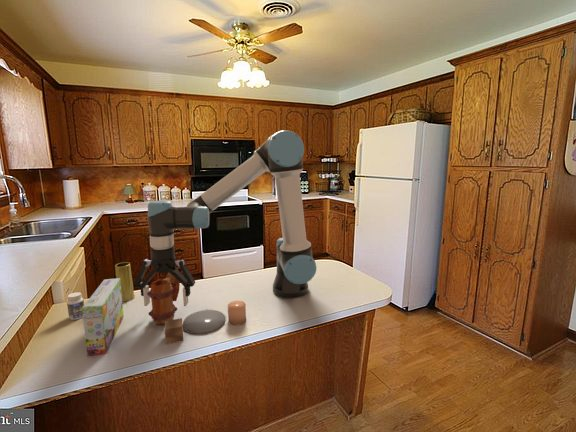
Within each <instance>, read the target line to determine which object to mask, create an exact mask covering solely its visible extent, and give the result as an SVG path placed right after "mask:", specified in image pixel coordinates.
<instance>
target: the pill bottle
mask: <svg viewBox="0 0 576 432" xmlns="http://www.w3.org/2000/svg"><path fill="white" fill-rule="evenodd" d="M66 305H67V313H68V318H69V320H71V321H75V320H80V319H83V313H82V307H83V306H84V305H85V303H84V297H83V296H82V293H81V292H79V291H78V292H72V293H69V294H68V295H67V302H66Z"/></svg>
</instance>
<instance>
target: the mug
mask: <svg viewBox="0 0 576 432" xmlns="http://www.w3.org/2000/svg"><path fill="white" fill-rule="evenodd" d="M180 284H181V283H180V282H179V281H178V280H177V279H176V278H175V277H174V276H173V275H171V274H170V273H167V275H166V277H165V278H163V279H161V278H159V279H155V281H154V280H153V281H152V282H151V283H150V289H149V292H148V293H147V295H148V296H150V299H151V300H150V302H151V310H150V311H149V312H148V316H150V317H151V319H152V320H153V322H154V323H155V324H165V321H169V320H174V317H175V313H176V311H178V307H176V305H175V304H174V302H177V300H178V297H179V293H180V286H181V285H180Z"/></svg>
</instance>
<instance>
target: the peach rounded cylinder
mask: <svg viewBox="0 0 576 432" xmlns="http://www.w3.org/2000/svg"><path fill="white" fill-rule="evenodd" d="M246 308H247V307H246V302H245V301H243V300H232V301H231V302H229V303H228V304H227V318H228V324H229V325H232V326H241V325H243V324H245V323H246V321H247V312H246V311H247V309H246Z"/></svg>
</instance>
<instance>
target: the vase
mask: <svg viewBox="0 0 576 432" xmlns="http://www.w3.org/2000/svg"><path fill="white" fill-rule="evenodd" d="M131 267H132V266H131V262H127V261H124V262H123V261H122V262H119V263H116V264H115V265H114V269H115V279H116V278H120V282H121V294H122V303H123V302H129V301H131V300H133V299H134V298H135V292H134V283H133V276H132V268H131Z"/></svg>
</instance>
